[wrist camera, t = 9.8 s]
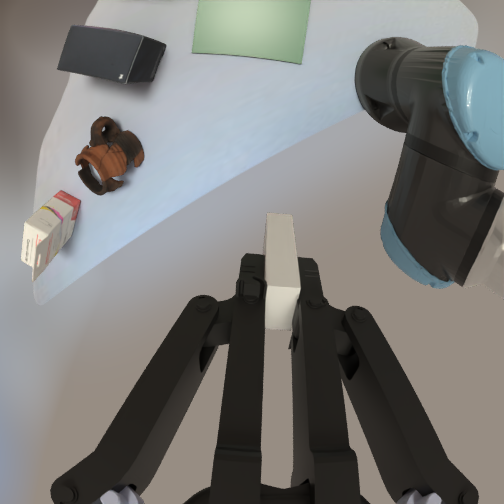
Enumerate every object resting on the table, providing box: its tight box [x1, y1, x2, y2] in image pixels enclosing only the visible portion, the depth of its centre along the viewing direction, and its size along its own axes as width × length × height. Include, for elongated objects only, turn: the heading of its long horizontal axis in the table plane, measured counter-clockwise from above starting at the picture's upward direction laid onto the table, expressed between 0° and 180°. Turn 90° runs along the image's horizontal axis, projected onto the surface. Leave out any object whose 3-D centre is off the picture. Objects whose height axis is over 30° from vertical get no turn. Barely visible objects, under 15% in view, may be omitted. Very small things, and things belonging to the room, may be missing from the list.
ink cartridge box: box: [21, 191, 80, 282], centre depth 41 cm, size 9×5×15 cm, turn 148°
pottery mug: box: [75, 116, 144, 195], centre depth 39 cm, size 12×9×8 cm
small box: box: [57, 25, 166, 84], centre depth 29 cm, size 11×6×10 cm, turn 67°
